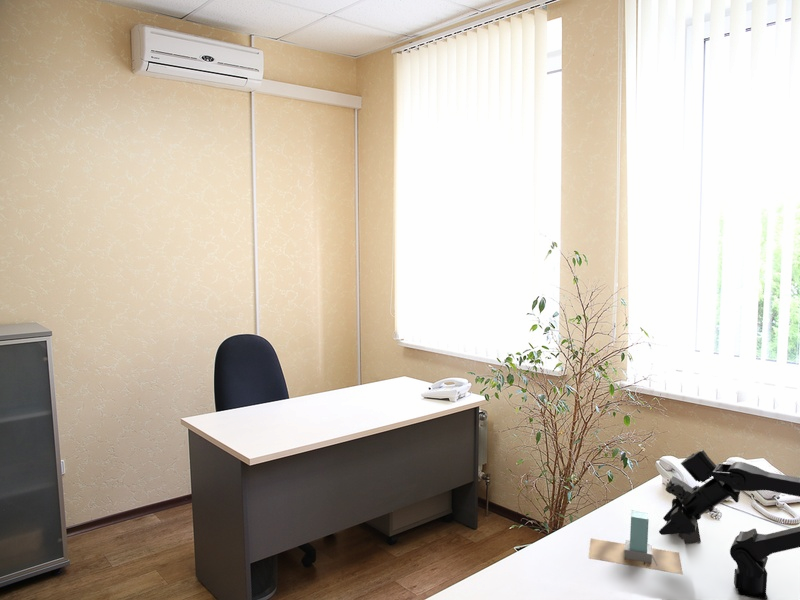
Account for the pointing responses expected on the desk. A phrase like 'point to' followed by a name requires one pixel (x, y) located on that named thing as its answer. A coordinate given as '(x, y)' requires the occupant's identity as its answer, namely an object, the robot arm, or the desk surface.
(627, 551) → the block
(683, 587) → the desk surface
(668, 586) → the desk surface
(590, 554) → the oak board
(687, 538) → the phone stand
